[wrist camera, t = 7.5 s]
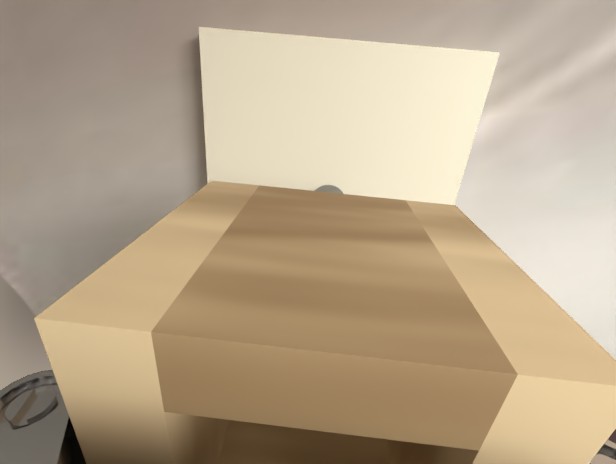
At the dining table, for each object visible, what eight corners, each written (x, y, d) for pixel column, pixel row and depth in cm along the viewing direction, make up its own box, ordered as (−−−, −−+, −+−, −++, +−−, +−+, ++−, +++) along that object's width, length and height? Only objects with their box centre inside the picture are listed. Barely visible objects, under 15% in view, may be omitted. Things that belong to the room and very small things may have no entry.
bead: (211, 180, 9) (33, 318, 4) (455, 205, 9) (645, 388, 4) (220, 357, 12) (128, 578, 7) (403, 379, 12) (462, 625, 6)
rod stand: (209, 31, 16) (53, -35, 7) (485, 55, 16) (689, 15, 7) (221, 288, 23) (148, 418, 14) (413, 309, 23) (466, 459, 14)
